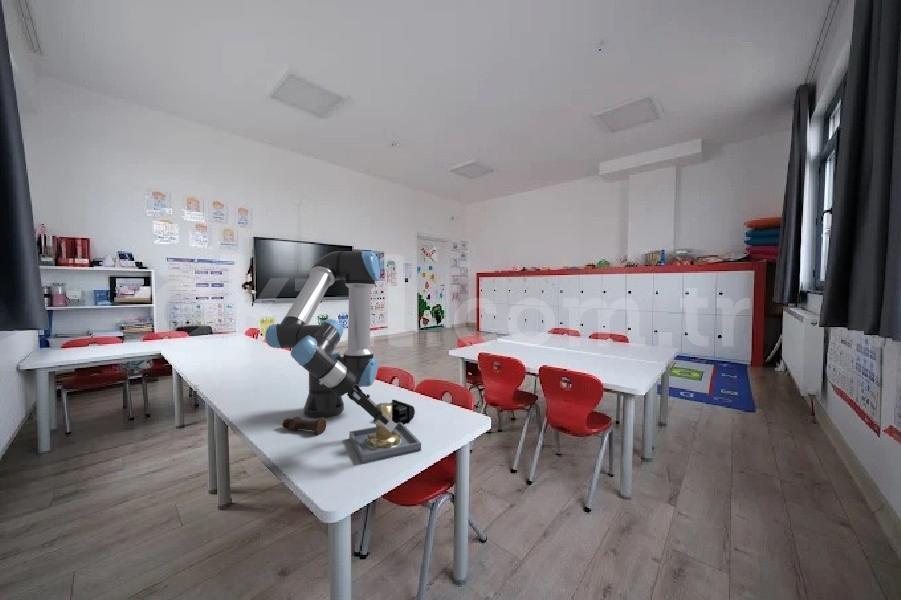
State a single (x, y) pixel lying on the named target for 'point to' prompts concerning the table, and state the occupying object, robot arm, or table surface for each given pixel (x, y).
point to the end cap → (402, 412)
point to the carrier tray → (369, 454)
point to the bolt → (305, 424)
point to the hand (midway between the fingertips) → (386, 420)
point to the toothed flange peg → (383, 431)
